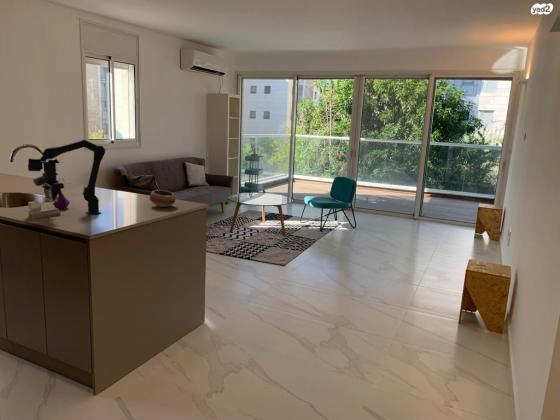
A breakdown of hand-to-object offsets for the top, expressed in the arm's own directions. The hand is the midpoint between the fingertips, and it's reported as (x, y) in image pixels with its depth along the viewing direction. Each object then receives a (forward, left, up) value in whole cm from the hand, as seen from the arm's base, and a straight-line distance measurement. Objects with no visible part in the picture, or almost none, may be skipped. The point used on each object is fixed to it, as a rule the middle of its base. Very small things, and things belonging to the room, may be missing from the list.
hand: (51, 199), depth 241 cm
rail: (0, +4, -9) cm, 10 cm away
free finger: (0, 0, -1) cm, 1 cm away
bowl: (-15, -62, -9) cm, 64 cm away
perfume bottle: (+13, -11, -9) cm, 19 cm away
